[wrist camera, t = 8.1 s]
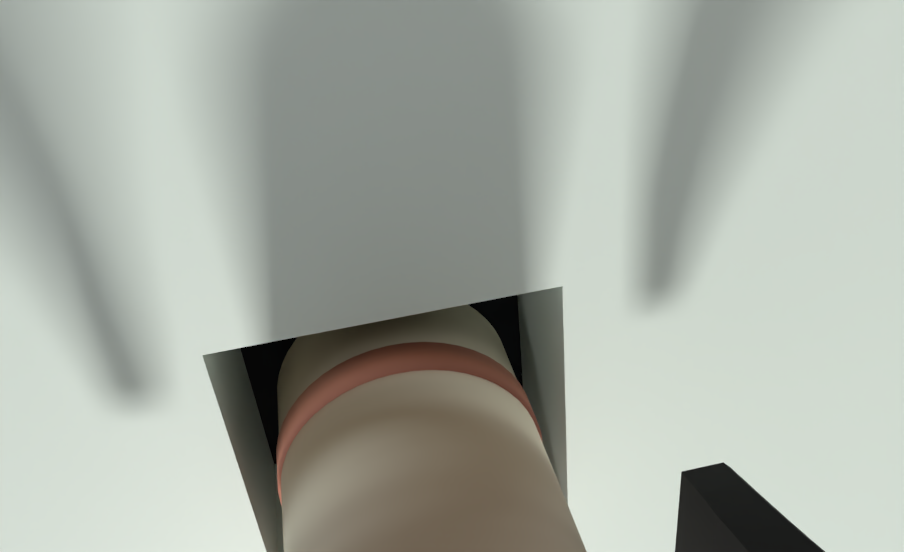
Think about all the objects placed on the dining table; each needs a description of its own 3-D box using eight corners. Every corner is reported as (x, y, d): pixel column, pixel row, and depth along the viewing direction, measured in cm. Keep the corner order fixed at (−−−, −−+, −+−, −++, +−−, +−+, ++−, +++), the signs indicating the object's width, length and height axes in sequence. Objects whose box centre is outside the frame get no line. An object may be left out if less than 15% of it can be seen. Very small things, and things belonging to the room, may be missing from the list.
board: (-3, 699, 20) (-40, 842, 17) (-504, -17, 11) (-733, 64, 8) (817, 510, 22) (890, 612, 19) (973, -213, 13) (1146, -196, 10)
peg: (298, 436, 17) (329, 888, 10) (247, 265, 15) (247, 705, 8) (498, 393, 17) (649, 799, 11) (479, 219, 15) (655, 602, 9)
